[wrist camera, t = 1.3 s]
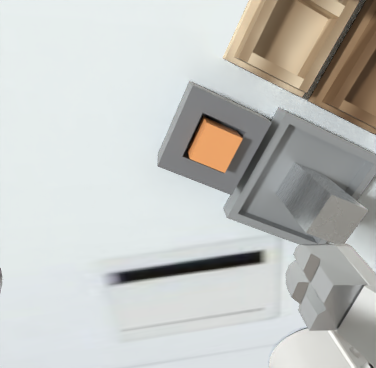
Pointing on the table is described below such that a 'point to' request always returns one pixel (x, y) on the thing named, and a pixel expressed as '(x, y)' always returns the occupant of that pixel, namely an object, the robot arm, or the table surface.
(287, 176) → the block
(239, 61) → the tray
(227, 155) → the button
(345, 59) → the pallet
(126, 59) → the table surface
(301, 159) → the tray
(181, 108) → the button console
